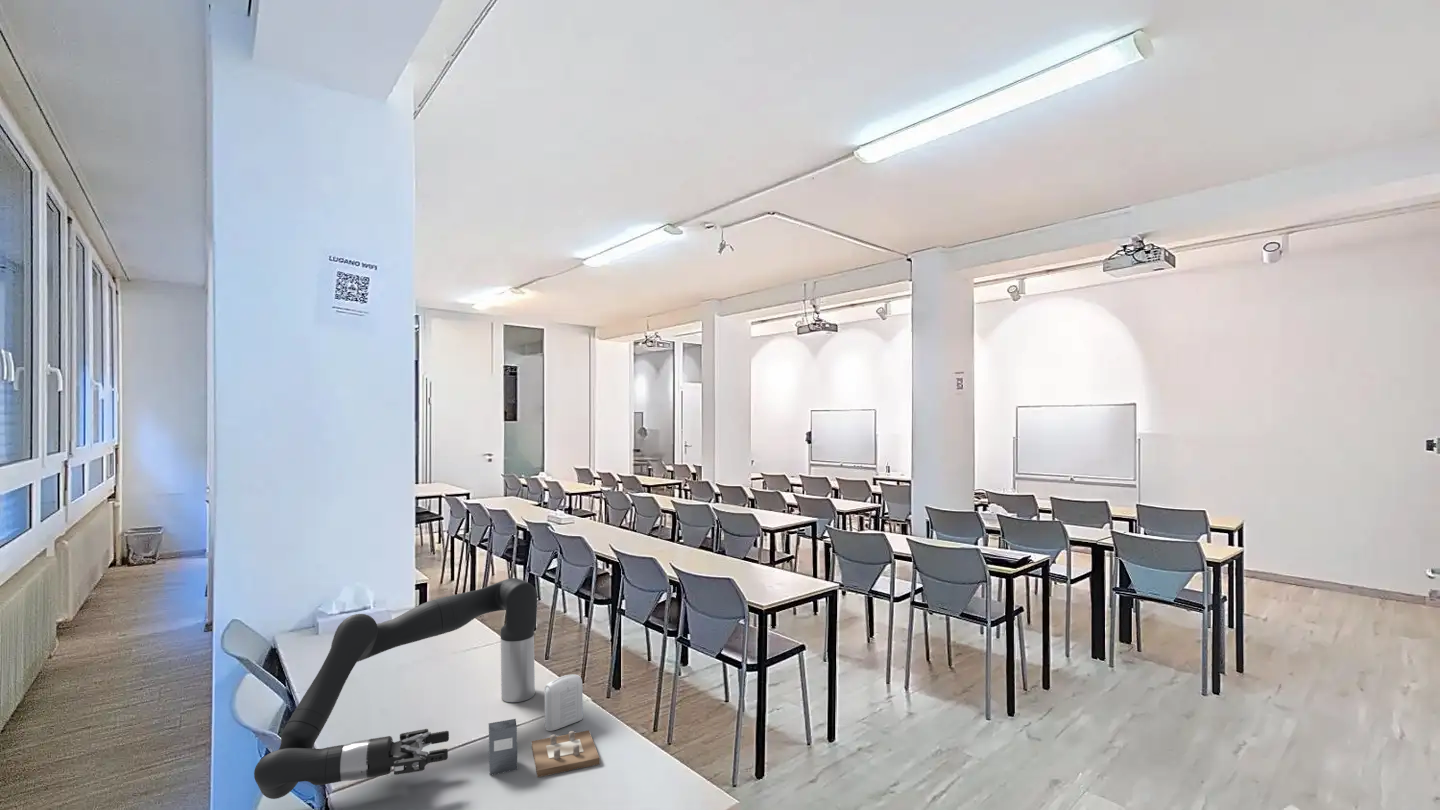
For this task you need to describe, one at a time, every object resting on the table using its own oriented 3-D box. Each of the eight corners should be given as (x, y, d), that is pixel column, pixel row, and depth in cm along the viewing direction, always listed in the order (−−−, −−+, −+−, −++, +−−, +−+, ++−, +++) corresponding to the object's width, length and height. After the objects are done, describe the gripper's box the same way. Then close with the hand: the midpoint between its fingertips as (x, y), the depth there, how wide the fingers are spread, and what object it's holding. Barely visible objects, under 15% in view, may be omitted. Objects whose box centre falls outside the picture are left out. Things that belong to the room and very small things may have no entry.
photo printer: (576, 714, 178) (576, 668, 178) (585, 719, 175) (584, 673, 175) (542, 727, 171) (541, 680, 171) (550, 733, 167) (549, 685, 167)
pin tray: (531, 747, 161) (531, 732, 161) (589, 736, 166) (588, 722, 166) (537, 777, 148) (537, 761, 148) (599, 764, 153) (599, 749, 153)
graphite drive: (489, 766, 153) (488, 723, 153) (516, 761, 155) (515, 718, 155) (489, 775, 149) (489, 731, 149) (517, 770, 151) (516, 726, 151)
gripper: (371, 759, 148) (449, 746, 154) (361, 794, 135) (447, 778, 141) (371, 726, 148) (449, 714, 154) (361, 757, 135) (447, 742, 141)
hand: (448, 744), depth 148 cm, fingers open, 8 cm apart
